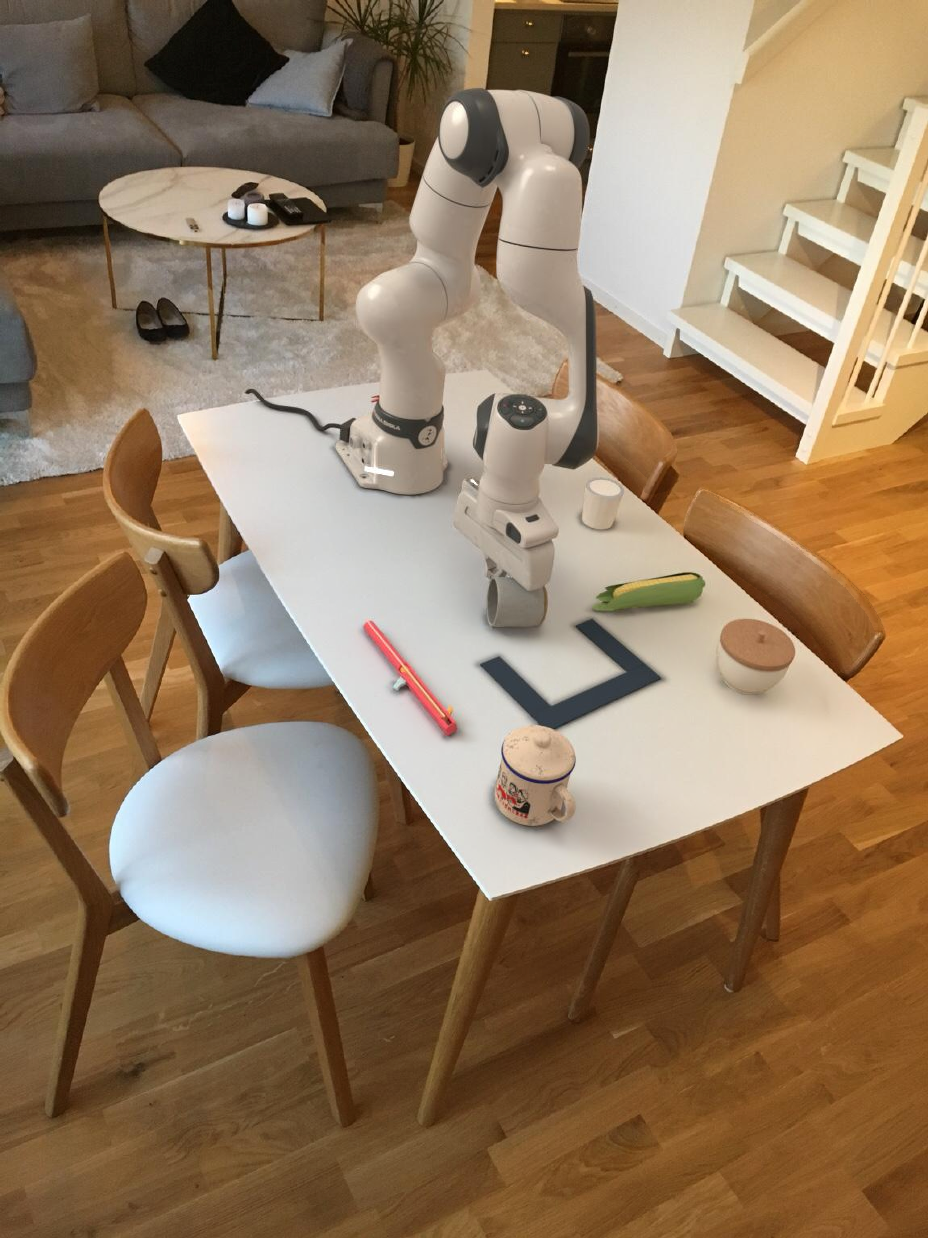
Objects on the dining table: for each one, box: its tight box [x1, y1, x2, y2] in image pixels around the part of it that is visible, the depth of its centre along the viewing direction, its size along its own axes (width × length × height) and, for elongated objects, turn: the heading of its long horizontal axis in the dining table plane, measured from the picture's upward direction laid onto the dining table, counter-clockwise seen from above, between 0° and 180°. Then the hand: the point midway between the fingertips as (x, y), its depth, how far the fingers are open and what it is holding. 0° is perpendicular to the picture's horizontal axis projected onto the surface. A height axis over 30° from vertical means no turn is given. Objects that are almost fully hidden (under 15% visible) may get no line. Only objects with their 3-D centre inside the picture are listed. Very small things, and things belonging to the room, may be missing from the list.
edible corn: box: [591, 571, 706, 611], centre depth 160 cm, size 5×20×5 cm, turn 110°
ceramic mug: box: [486, 576, 549, 628], centre depth 153 cm, size 11×8×8 cm
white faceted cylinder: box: [581, 477, 625, 530], centre depth 177 cm, size 7×7×7 cm
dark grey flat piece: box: [479, 618, 662, 730], centre depth 146 cm, size 16×22×1 cm
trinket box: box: [715, 618, 796, 696], centre depth 146 cm, size 11×11×9 cm
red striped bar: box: [363, 618, 458, 737], centre depth 140 cm, size 24×2×5 cm
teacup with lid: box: [494, 724, 577, 827], centre depth 122 cm, size 12×9×12 cm
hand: (494, 580), depth 155 cm, fingers closed
